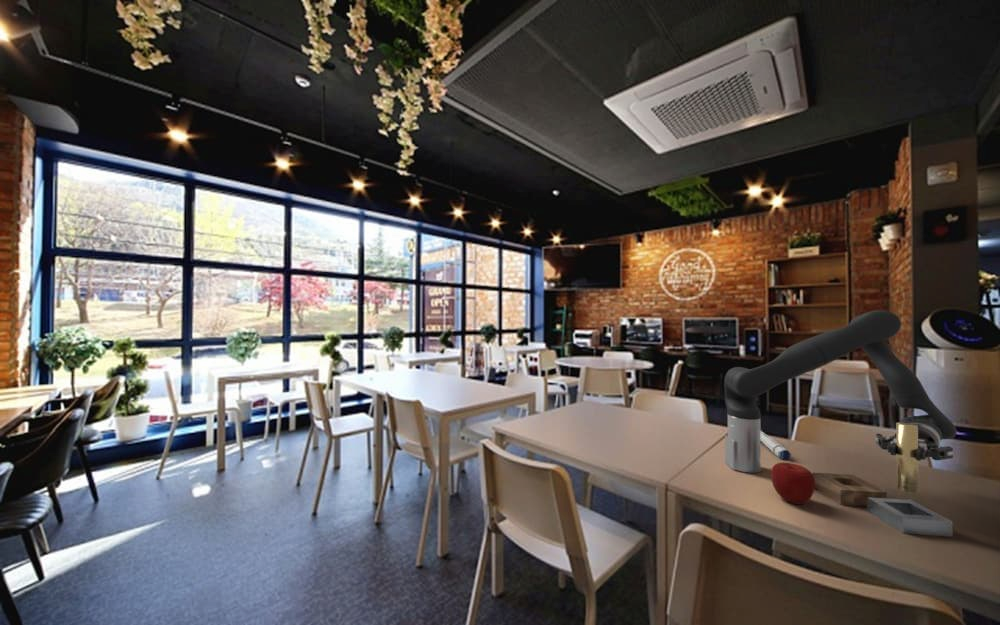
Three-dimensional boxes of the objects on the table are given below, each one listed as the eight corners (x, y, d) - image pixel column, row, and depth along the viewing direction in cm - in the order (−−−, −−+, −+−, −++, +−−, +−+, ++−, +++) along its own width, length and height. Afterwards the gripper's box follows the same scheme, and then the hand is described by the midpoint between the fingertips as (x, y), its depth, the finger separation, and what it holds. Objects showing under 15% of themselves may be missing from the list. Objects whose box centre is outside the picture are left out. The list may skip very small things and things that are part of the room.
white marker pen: (777, 449, 131) (743, 419, 155) (775, 467, 132) (742, 434, 156) (793, 450, 130) (756, 420, 154) (792, 468, 131) (755, 435, 155)
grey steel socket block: (903, 533, 87) (902, 518, 87) (867, 510, 97) (867, 497, 97) (952, 536, 85) (952, 521, 86) (911, 513, 95) (911, 499, 95)
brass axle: (906, 492, 90) (905, 426, 90) (893, 485, 93) (891, 422, 93) (923, 493, 89) (922, 427, 89) (909, 486, 93) (908, 422, 93)
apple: (824, 511, 97) (823, 472, 97) (783, 508, 98) (783, 470, 98) (800, 493, 106) (800, 458, 106) (763, 491, 107) (763, 456, 108)
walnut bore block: (840, 504, 100) (840, 489, 100) (812, 485, 111) (812, 472, 111) (886, 507, 98) (886, 492, 98) (853, 488, 109) (853, 474, 109)
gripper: (879, 419, 105) (864, 430, 95) (959, 431, 94) (950, 446, 84) (880, 445, 105) (865, 459, 95) (959, 461, 94) (951, 479, 84)
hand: (905, 453), depth 90 cm, fingers closed on brass axle, 3 cm apart
